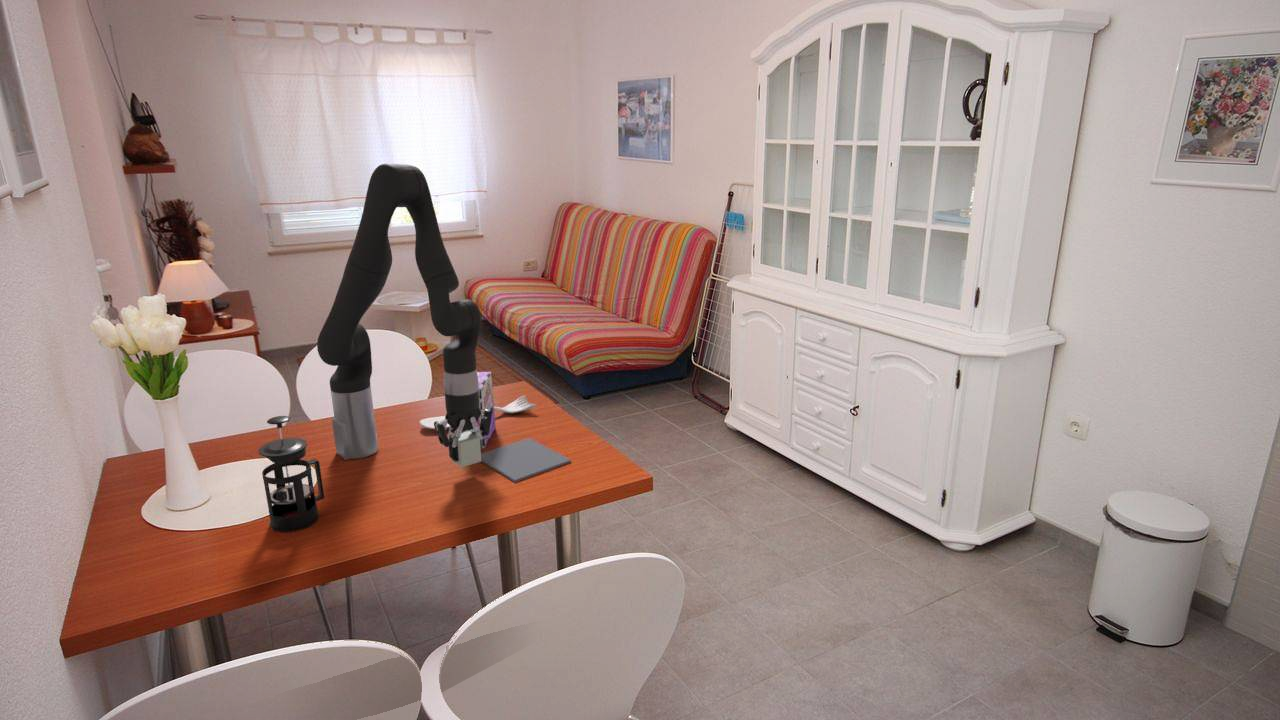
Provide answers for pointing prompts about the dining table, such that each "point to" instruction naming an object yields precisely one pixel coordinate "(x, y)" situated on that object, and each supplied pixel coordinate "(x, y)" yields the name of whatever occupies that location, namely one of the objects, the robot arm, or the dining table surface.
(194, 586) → the dining table surface
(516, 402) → the spoon
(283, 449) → the french press
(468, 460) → the sage block
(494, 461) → the placemat
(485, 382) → the candy box
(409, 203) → the robot arm
